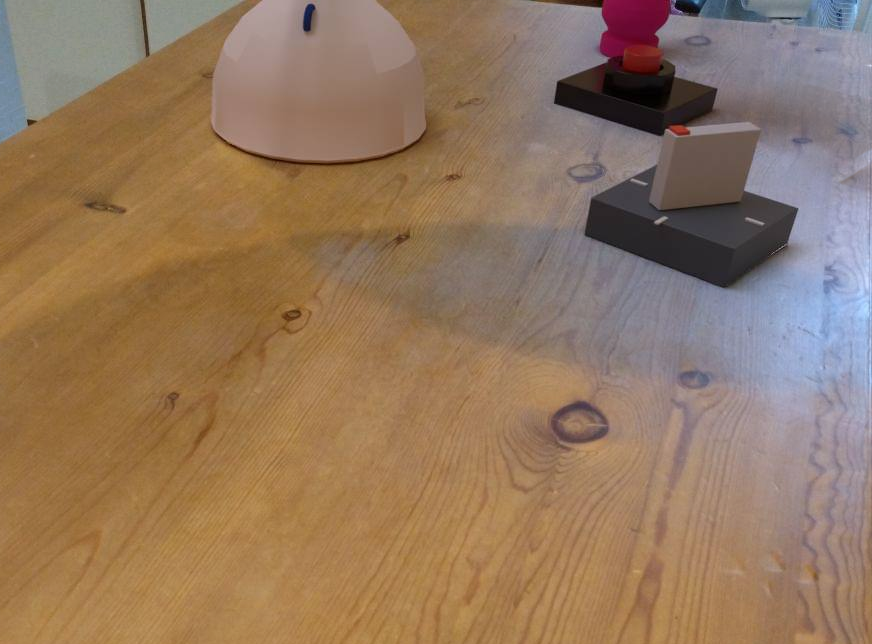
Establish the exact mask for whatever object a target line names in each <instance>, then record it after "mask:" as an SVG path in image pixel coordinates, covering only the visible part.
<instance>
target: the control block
mask: <svg viewBox="0 0 872 644" xmlns="http://www.w3.org/2000/svg"><path fill="white" fill-rule="evenodd" d="M623 57H624V55H622V56H615V57H613V58H610V57H609V58H608V59H607V60H606V62H603V63H601V64H598V65H596V66H593V67H590V68H588V69H584V70H582V71H580V72H577V73H574V74H572V75H569V76H567V77H564V78H561V79H559V80H557V81H556V87H555V93H554V99H553V100H554V101H553V104H555V105H557V106H561V107H564V108H567V109H570V110H573V111H576V112H580V113H583V114H587V115H589V116H593V117H595V118H599V119H603V120H606V121H609V122H612V123H615V124H619V125H622V126H625V127H628V128H632V129H635V130H637V131H642V132H644V133H648V134H651V135H654V136H657V137H661V136H664V133H665V129H669V126H676V125H682V126H684V125H686V124H689V123H690V122H692V121H694V120H697V119H699V118H702V116H705V115H707V114H709V113H711V112H712V111H713V109H714V105H715V102H716V97H717V93H718V90H719V89H718V88H717V87H714V86H711V85H706V84H703V83H700V82H695V81H692V80H688V79H684V78H681V77H677V76H676V72H677V71H676V69H677V68H676V67H677V66H676V65H675V64H673V63H671V62H670V61H668V60H666V59H663V58H662V62H661V66H660V71H658V72H648V73H647V72H636V71H631V70H628V69H624V68H623V67H622V62H623Z"/></svg>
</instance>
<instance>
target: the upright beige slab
mask: <svg viewBox="0 0 872 644" xmlns="http://www.w3.org/2000/svg"><path fill="white" fill-rule="evenodd" d="M761 133H762V128H760V127H758V126H757V125H756V124H754V123H752V122H751V121H743V122H742V121H741V122H733V123H732V122H731V123H722V124H721V123H719V124H709V125H698V126H697V125H696V126H686V127H685V126H684V125H676V126H669V129H665V133H664V134H663V137H662V141H661V147H660V150H659V151H660V152H659V156H658V160H657V163H656V165H657V168H656V173H655V177H654V181H653V186H652V190H651V195H650V199H649V203H651V204H652V205H653V206H654V207H656V208H657V209H658V210H667V209H677V208H686V207H695V206H705V205H714V204H723V203H732V202H740V201H741V199H742V195H743V192H744V191H745V187H746V184H747V181H748V178H749V173H750V170H751V166H752V164H753V160H754V157H755V153H756V150H757V146H758V142H759V139H760V135H761Z"/></svg>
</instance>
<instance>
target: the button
mask: <svg viewBox="0 0 872 644" xmlns="http://www.w3.org/2000/svg"><path fill="white" fill-rule="evenodd" d="M663 57H664V51H663V50H662V49H660V48H656V47H652V46H645V45H633V46H629V47H627V48H626V49H625V52H624V57H623V62H622V67H623V68H624V69H628V70H631V71H636V72H647V73H648V72H658V71H660V66H661V62H662V59H663Z"/></svg>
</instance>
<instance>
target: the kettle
mask: <svg viewBox="0 0 872 644" xmlns="http://www.w3.org/2000/svg"><path fill="white" fill-rule="evenodd" d="M211 87H212V88H211V89H212V90H211V91H212V92H211V96H212V97H211V116H210V118H209V121H210V123H211V126H212V129H213V131H214V132H215V133H216V134H217V135H218V136H220V137H221V138H222V139H223V140H224V141H225V140H226V141H225V142H227V143H228V144H229V145H231V144H232V145H231V146H233V145H234V146H233V147H235V146H236V148H237V149H240V150H241V151H244V152H246V153H250V154H254V155H257V156H261V157H265V158H267V159H273V160H279V161H280V160H281V161H286V162H292V163H293V162H294V163H305V164H306V163H308V164H339V163H341V164H342V163H354V162H355V163H357V162H361V161H367V160H372V159H379V158H383V157H385V156H389V155H391V154H394V153H397V152H400V151H403V150H404V149H406V148H408V147H409V146H411V145H412V144H414V143H415V142H417V141H418V140H419V139H420V138H421V136H422V135H423V134H424V132H425V130H426V129H427V120H426V113H425V112H426V101H425V100H426V99H425V98H426V97H425V96H426V93H425V74H424V71H423V67H422V63H421V60H420V58H419V54H418V51H417V47H416V45H415V44H414V43H413V41H412V40H411V38H410V37H409V35H408V34H407V32H406V31H405V29H404V28H403V26H402V24H401V23H400V22H399V21H398V19H396V18H395V16H394V15H392V14H391V13H390V12H389V11H388V10H387V9H386V8H384V7H383V6H382V5H381V4H380V3H379V2H378V1H377V0H261V1H259V2H258V3H257V4H256V5H254V6H253V7H252V8H251V9H250V10H249V11H247V12H246V13H245V14H243V16H242V17H241V18H240V19H239V21H238V22H237V23H236V25H235V26H234V27H233V29H232V30H231V32H230V33H229V34H228V35H227V37H226V38H225V40H224V43H223V45H222V49H221V51H220V54H219V57H218V60H217V63H216V65H215V68H214V72H213V74H212V86H211Z"/></svg>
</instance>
